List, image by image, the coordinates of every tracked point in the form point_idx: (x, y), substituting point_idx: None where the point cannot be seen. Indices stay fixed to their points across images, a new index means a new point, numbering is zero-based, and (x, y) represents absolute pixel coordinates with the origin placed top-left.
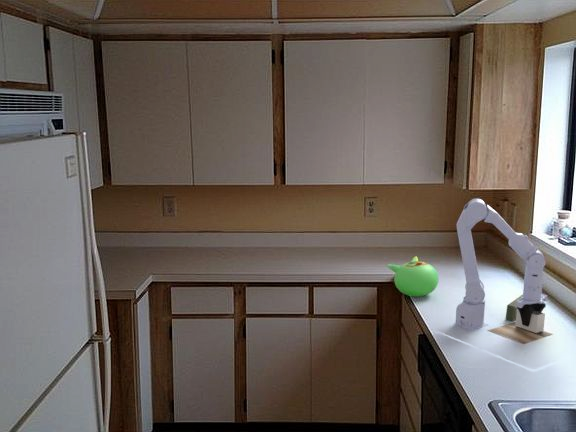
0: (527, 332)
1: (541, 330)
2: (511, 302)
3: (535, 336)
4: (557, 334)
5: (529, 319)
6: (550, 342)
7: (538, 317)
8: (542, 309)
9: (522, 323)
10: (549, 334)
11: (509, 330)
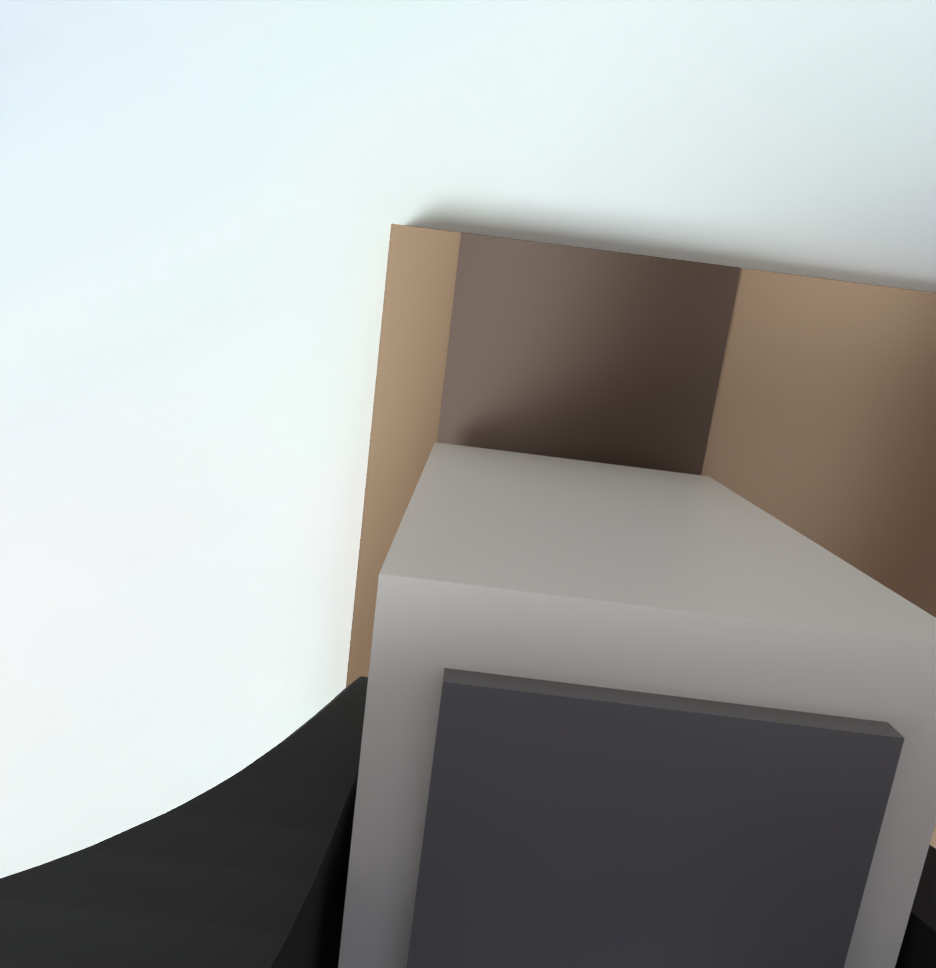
0: None
1: (514, 456)
2: None
3: (846, 417)
4: (230, 207)
5: None
6: (827, 71)
7: (862, 606)
8: (110, 877)
9: None
10: (488, 267)
11: None
